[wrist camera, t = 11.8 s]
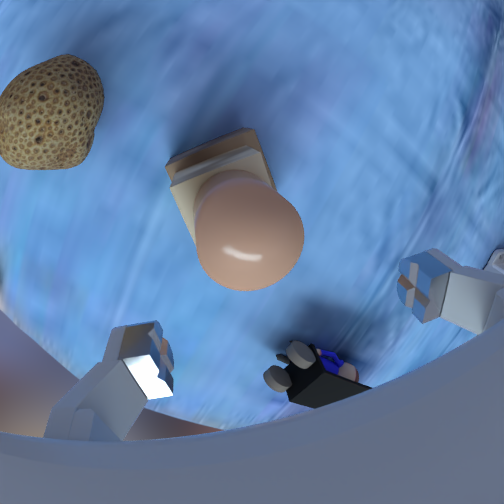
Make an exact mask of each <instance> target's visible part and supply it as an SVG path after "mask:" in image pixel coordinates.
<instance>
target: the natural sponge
mask: <svg viewBox="0 0 504 504" xmlns="http://www.w3.org/2000/svg"><path fill="white" fill-rule="evenodd" d="M103 104H104V90H103V86H102V83H101V79H100V77H99V75H98V73H97V71H96V70H95V69H94V68H93V67H92V66H91V65H89V64H88V63H87V62H85V61H84V60H82V59H80V58H78V57H76V56H72V55H69V54H66V55H60V56H57V57H55V58H52V59H49V60H47V61H45V62H42V63H40V64H37V65H35V66H33V67H31V68H28V69H27V70H25V71H23V72H22V73H20V74H19V75H18V76H16V77H15V78H14V79H13V80H12V81H11V82H10V83H9V84H8V85H7V87H6V88H5V90H4V91H3V92H2V94H1V96H0V155H1V157H2V158H3V159H4V161H6V162H7V163H8V164H9V165H11V166H13V167H16V168H20V169H28V170H56V169H68V168H72V167H75V166H77V165H79V164H81V163H82V162H83V161H84V159H85V158H86V157H87V155H88V153H89V152H90V149H91V146H92V144H93V140H94V129H95V127H96V124H97V122H98V120H99V118H100V115H101V112H102V109H103Z"/></svg>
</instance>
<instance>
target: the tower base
mask: <svg viewBox="0 0 504 504" xmlns="http://www.w3.org/2000/svg"><path fill="white" fill-rule="evenodd" d="M245 145H247V146H249V147H251V148H253V149H255V150H257V151H259V152H261V155H262V158H263V161H264V164H265V167H266V170H267V173H268V176H269V179H270V182H271V186H272V188H273V189H274V190H275V191H277V190H276V187H275V184H274V181H273V178H272V176H271V173H270V170H269V167H268V165H267V162H266V159H265V157H264V154H263V151H262V149H261V146H260V143H259V141H258V138H257V135H256V133H255V130H254V129H250V128H241V129H239V130H236V131H233V132H231V133H228V134H226V135H223V136H221V137H218V138H216V139H213V140H211V141H209V142H206V143H204V144H202V145H199V146H197V147H195V148H192V149H190V150H188V151H186V152H183V153H181V154H179V155H177V156H175V157H173V158H170V160H169V161H168V163H167V164H166V166H165V168H166V171H167V173H168V175H169V177H170V179H171V181H172V180H173V177H174V175H175V173H176V172H178V171H180V170H183V169H185V168H188V167H190V166H192V165H195V164H197V163H200V162H202V161H205V160H207V159H210V158H213V157H215V156H218V155H220V154H223V153H226V152H228V151H231V150H234V149H237V148H239V147H242V146H245Z"/></svg>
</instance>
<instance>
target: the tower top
mask: <svg viewBox="0 0 504 504" xmlns="http://www.w3.org/2000/svg"><path fill="white" fill-rule="evenodd" d="M236 169H238V170H244V171H248V172H251V173H253V174H255V175H257V176H258V177H259V178H261V179H262V180H263V181H264V182H266V183H267V184H268V185H269V186H271V182H270V179H269V176H268V173H267V170H266V167H265V164H264V161H263V158H262V155H261V152H259V151H257V150H255V149H253V148H251V147H249V146H247V145H245V146H242V147H239V148H237V149H234V150H231V151H228V152H226V153H223V154H220V155H218V156H215V157H213V158H210V159H207V160H205V161H202V162H200V163H197V164H195V165H192V166H190V167H188V168H185V169H183V170H180V171H178V172H176V173H175V175H174V177H173V180H172V183H171V186H170V190H171V192H172V194H173V196H174V199H175V201H176V203H177V205H178V208H179V210H180V212H181V214H182V217H183V219H184V221H185V223H186V225H187V228H188V230H189V232H190V234H191V236H192V238H193V241H194V243H195V245H196V238H195V228H194V216H193V205H194V200H195V197H196V195H197V193H198V191H199V189H200V188H201V186H202V185H203V184H204V183H205V182H206V181H207V180H208V179H209V178H211V177H212V176H214V175H215V174H218V173H220V172H223V171H226V170H236ZM271 187H272V186H271Z"/></svg>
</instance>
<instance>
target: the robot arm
mask: <svg viewBox="0 0 504 504" xmlns="http://www.w3.org/2000/svg"><path fill="white" fill-rule="evenodd" d="M399 272H400V273H401V276H400V278H399V279H398V281H397V292H398V297H399V298H400V300H401V302H402V303H403V304H404V305H405V306H407V307H410V308H412V314H413V315H414V316H415V317H416V318H417V319H418V320H419V321H420V322H421V323H422V324H423V323H426V322H428V321H431V320H433V319H435V318H438V317H440V316H441V317H440V318H443V319H445V320H447V321H449V322H451V323H453V324H456V325H458V326H460V327H462V328H464V329H466V330H469V331H471V332H473V333H475V334H477V336H475V337H474V338H472V339H471V340H469V341H467V342H466V343H464V344H462V345H460V346H459V347H457V348H455V349H453V350H452V351H450V352H448V353H446V354H444V355H442V356H441V357H439V358H437V359H435V360H433V361H431V362H429V363H427V364H425V365H423V366H421V367H419V368H417V369H415V370H413V371H411V372H409V373H407V374H404V375H402V376H400V377H398V378H396V379H393V380H391V381H389V382H386V383H384V384H382V385H379V386H377V387H374V388H372V389H369V390H367V391H364V392H362V393H359V394H356V395H354V396H351V397H348V398H346V399H343V400H340V401H337V402H334V403H331V404H328V405H325V406H322V407H319V408H316V409H312V410H309V411H306V412H302V413H299V414H295V415H292V416H288V417H284V418H280V419H276V420H272V421H268V422H264V423H260V424H255V425H251V426H246V427H241V428H236V429H230V430H225V431H219V432H214V433H207V434H200V435H192V436H184V437H175V438H165V439H154V440H137V441H123V439H124V438H125V436H126V434H127V433H128V431H129V430H130V428H131V427H132V425H133V423H134V422H135V420H136V419H137V417H138V416H139V414H140V413H141V411H142V409H143V408H144V406H145V405H146V403H147V402H148V399H152V398H159V397H165V396H171V395H173V377H172V375H171V374H170V373H171V371H172V370H173V369H174V359H173V353H172V350H171V347H170V345H169V342H168V341H167V340H166V339H164V338H163V337H162V336H163V329H162V327H161V325H160V323H159V322H158V321H157V320H155V321H149V322H143V323H137V324H131V325H125V326H120V327H115V328H113V329H112V331H111V334H110V337H109V340H108V343H107V347H106V350H105V353H104V357H103V360H102V362H99V363H97V364H96V365H95V366H94V367H93V368H92V369H91V370H90V371H89V372H88V373H87V374H86V375H85V376H84V377H83V378H82V379H81V380H80V381H79V382H78V383H77V384H76V385H75V386H74V387H73V388H71V389H70V391H69V392H67V393H66V394H65V395H64V396H63V398H61V399H60V401H58V402H57V403H56V404H55V405H54V406H53V407H52V410H51V413H50V416H49V420H48V423H47V426H46V430H45V433H44V437H43V438H39V437H31V436H24V435H17V434H11V433H6V432H1V431H0V504H504V249H497V250H495V251H494V253H493V254H492V256H491V258H490V260H489V262H488V264H487V266H486V267H485V268H484V270H481V269H477V268H473V267H469V266H464V267H462V266H461V265H460V264H458V263H457V262H455V261H454V260H453V259H451V258H450V257H448V256H447V255H445V254H444V253H442V252H441V251H439V250H438V249H435V248H432V249H429V250H426V251H424V252H422V253H419V254H416V255H413V256H410V257H407V258H403V259H401V261H400V263H399Z"/></svg>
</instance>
